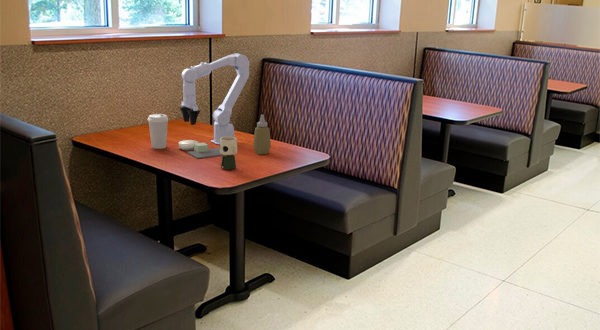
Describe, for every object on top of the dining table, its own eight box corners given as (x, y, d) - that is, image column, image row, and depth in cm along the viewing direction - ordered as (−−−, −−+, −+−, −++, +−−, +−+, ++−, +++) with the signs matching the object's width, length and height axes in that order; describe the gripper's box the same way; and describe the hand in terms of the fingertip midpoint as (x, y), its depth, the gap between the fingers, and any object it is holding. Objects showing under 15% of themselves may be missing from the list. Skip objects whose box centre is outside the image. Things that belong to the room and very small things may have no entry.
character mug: (213, 167, 251) (213, 137, 247) (227, 164, 256) (227, 134, 252) (229, 173, 244) (229, 142, 240) (243, 170, 248) (243, 139, 245)
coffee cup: (164, 150, 275) (163, 118, 271) (145, 148, 277) (143, 116, 273) (172, 145, 284) (171, 114, 280) (153, 143, 286) (152, 113, 282)
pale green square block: (204, 148, 277) (203, 142, 277) (208, 151, 273) (208, 144, 272) (193, 149, 275) (193, 143, 274) (198, 152, 271) (197, 146, 270)
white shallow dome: (193, 145, 285) (193, 139, 284) (201, 149, 278) (201, 143, 277) (175, 147, 280) (175, 141, 280) (183, 151, 273) (183, 145, 272)
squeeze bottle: (273, 152, 278) (274, 114, 273) (266, 156, 270) (267, 117, 265) (257, 150, 280) (257, 112, 275) (250, 154, 273) (250, 115, 268)
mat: (218, 149, 280) (218, 147, 280) (229, 154, 272) (229, 153, 271) (186, 153, 272) (186, 151, 271) (197, 158, 263) (197, 157, 263)
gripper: (175, 92, 284) (175, 121, 288) (187, 97, 272) (188, 126, 276) (189, 92, 288) (189, 119, 291) (202, 96, 276) (202, 125, 280)
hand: (189, 123), depth 284 cm, fingers open, 7 cm apart
